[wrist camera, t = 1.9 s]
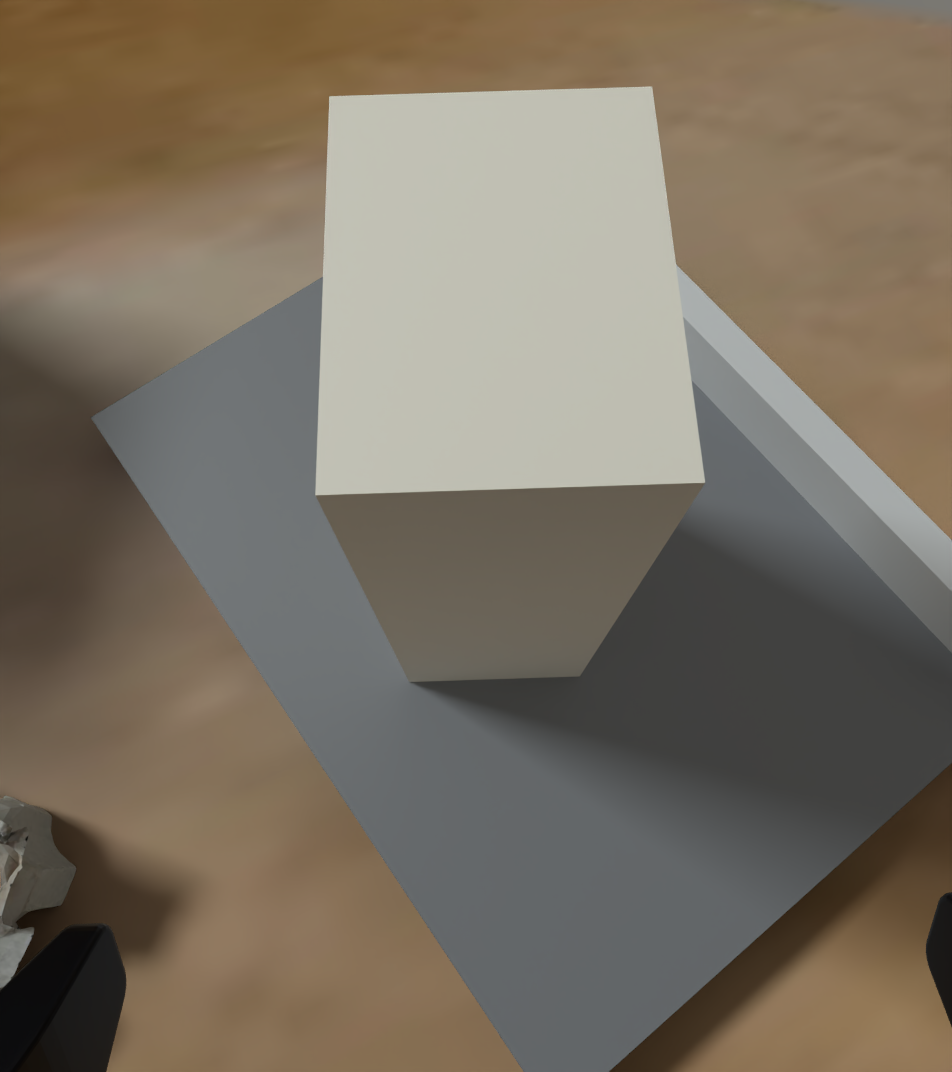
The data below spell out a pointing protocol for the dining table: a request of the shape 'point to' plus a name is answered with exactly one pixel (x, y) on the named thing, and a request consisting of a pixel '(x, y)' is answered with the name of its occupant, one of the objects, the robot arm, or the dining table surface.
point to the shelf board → (586, 686)
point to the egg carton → (26, 876)
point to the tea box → (501, 371)
